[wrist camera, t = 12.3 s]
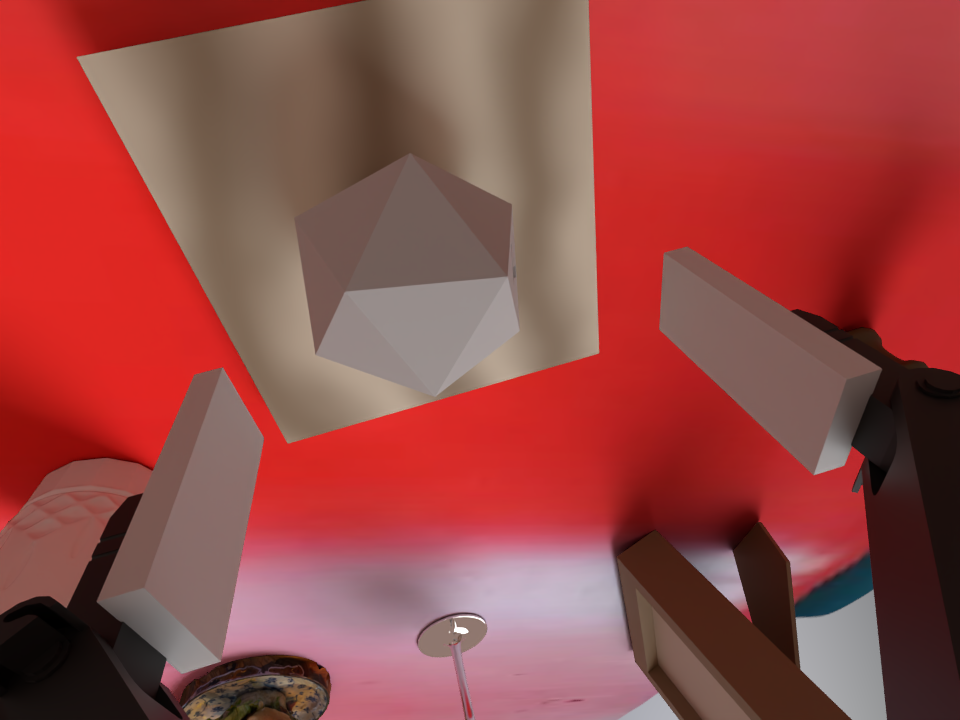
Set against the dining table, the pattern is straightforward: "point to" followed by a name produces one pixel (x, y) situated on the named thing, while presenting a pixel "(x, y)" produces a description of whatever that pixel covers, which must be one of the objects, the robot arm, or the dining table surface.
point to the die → (410, 275)
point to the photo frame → (719, 634)
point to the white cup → (63, 528)
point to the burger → (260, 690)
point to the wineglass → (455, 647)
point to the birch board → (365, 168)
